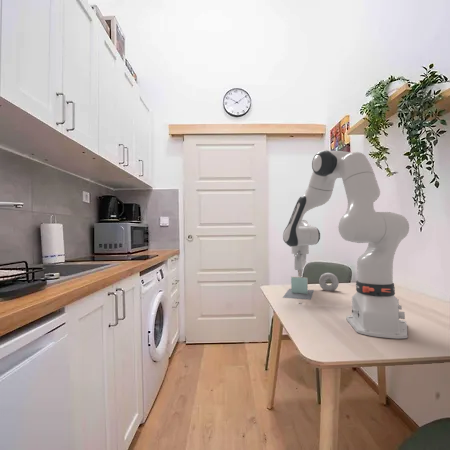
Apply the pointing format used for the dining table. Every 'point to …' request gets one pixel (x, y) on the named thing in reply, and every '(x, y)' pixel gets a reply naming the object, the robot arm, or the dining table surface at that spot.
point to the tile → (299, 285)
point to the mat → (299, 295)
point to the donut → (332, 277)
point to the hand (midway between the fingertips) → (300, 276)
